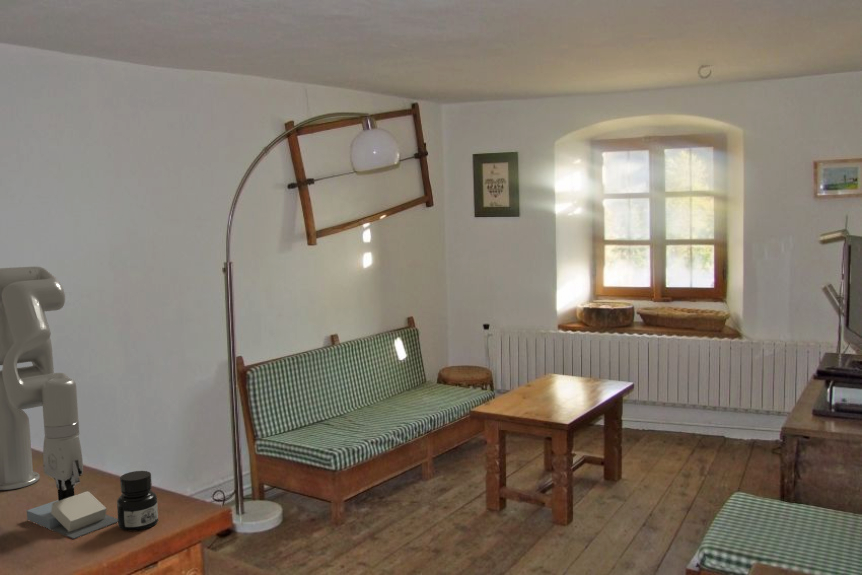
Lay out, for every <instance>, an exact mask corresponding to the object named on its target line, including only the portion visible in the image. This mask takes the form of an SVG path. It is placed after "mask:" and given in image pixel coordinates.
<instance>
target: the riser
mask: <svg viewBox="0 0 862 575" xmlns="http://www.w3.org/2000/svg"><path fill="white" fill-rule="evenodd" d="M75 495H76V494H74V496H75ZM57 501H58V499H57V500H54V501H50V502H49V503H45V504H42V505H39V506H37V507H36V506H35V507H33V508H29V509H26V520H27V521H28V520H30V521H32V522H35V523H37V524H39V525H38V526H40V525H41V526H40V527H42V526H44V527H43V528H45V527H46V529H47V528H48V529H47V530H51V528H54V527H56V526H59V525H62V524H61V523H60V522H59V521H58V520H57V519H56V518H55V517H54V516H53V515H52V514H51V510H52V503H54V502H57ZM30 521H29V522H30ZM32 522H31V523H32ZM35 523H34V524H35ZM37 524H36V525H37Z"/></svg>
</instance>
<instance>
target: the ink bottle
mask: <svg viewBox="0 0 862 575" xmlns="http://www.w3.org/2000/svg"><path fill="white" fill-rule="evenodd" d="M119 479H120V480H119V481H120V493H121V495H120V496H119V497H118V498H117V499H116V500H117V501H116V508H117V509H116V510H117V512H116V513H117V519H118V523H117V526H118V528H119V529H120V530H122V531H127V532H137V531H143V530H146V529H149V528H151V527H153V526H155V525H157V524H158V522H159V508H158V507H159V506H158V497H157V493H156V492H154V491H152V485H153V484H152V483H153V482H152V474H151V472H150V471H147V470H136V471H135V470H134V471H128V472H126V473H123V475H120V477H119Z"/></svg>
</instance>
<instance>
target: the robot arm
mask: <svg viewBox="0 0 862 575" xmlns="http://www.w3.org/2000/svg"><path fill="white" fill-rule="evenodd" d="M65 294H66V293H65V291H64V288H63V286H62V284H61V282H60V281H59V280H58V279H57V277H55V276H54V275H53V274H52V273H51V272H49V271H48V269H45V268H44V267H42V266H22V267H21V266H19V267H1V268H0V366H2V369H1V370H0V491H6V490H7V491H9V490H15V489H21V488H25V487H28V486H31V485H33V484H35V483H36V482H38V481H39V480H40V473H39V472H37V471H34V470H33V469H34V468H33V455H32V444H31V443H32V440H31V428H30V426H31V425H30V419H29V416H28V414H27V412H25V411H24V410H26V409H33V408H39V407H42V415H43V418H42V419H43V431H44V432H43V433H44V438H43V448H42V449H43V450H42V452H43V454H42V456H43V457H42V460H43V473H44V475H45V476H47V477H50V478H52V479H54V482H55V487H56V489H57V500H58V501H60V500H63V499H66V498H69V497H72V496H74V495H75V487H76V485H77V484H80V483H81V480H80V477H81V476H82V475H83V472H84V463H83V452H82V447H81V442H80V437H79V435H80V422H79V410H78V407H79V406H78V391H77V383H76V381H75V380H74V379H72V378H70V377H69V376H68V374H66V373H64V372H55V371H54V369H55V367H54V356H53V347H52V346H53V345H52V340H51V329H50V327H49V323H48V320H47V317H46V313H45V312H51V311H52V312H54V311H59V310H61V309H62V308H63V307H64V306H65V303H66V295H65ZM30 362H31V364H32V365H28V366H23V367H18V366H17V365H18V364H23V363H30Z"/></svg>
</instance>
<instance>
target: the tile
mask: <svg viewBox="0 0 862 575" xmlns="http://www.w3.org/2000/svg"><path fill="white" fill-rule="evenodd" d="M74 495H75V496H72V497H69V498H66V499H63V500H60V501H57V500H56V501H57V502H54V501H53V502H54V503H52V510H51V514H52V515H53V516H54V517H55V518H56V519H57V520H58V521H59V522H60V523H61V524H62V525H63V526H64V527H65V528H66V529H67V530H68V531H69V532H70V531H73V530H76V529H78V528H81V527H84V526H86V525H89V524H92V523H94V522H97V521H100V520H103V519H105V514H106V515H107V509H108V508H107V507H106V506H105V505H103V503H102V502H100V500H98V499H97V498H96V497H95V496H94V495H93V494H92V493H91V492H90V491H89V490H88V491H84V492H80V493H78V494H74Z"/></svg>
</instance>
